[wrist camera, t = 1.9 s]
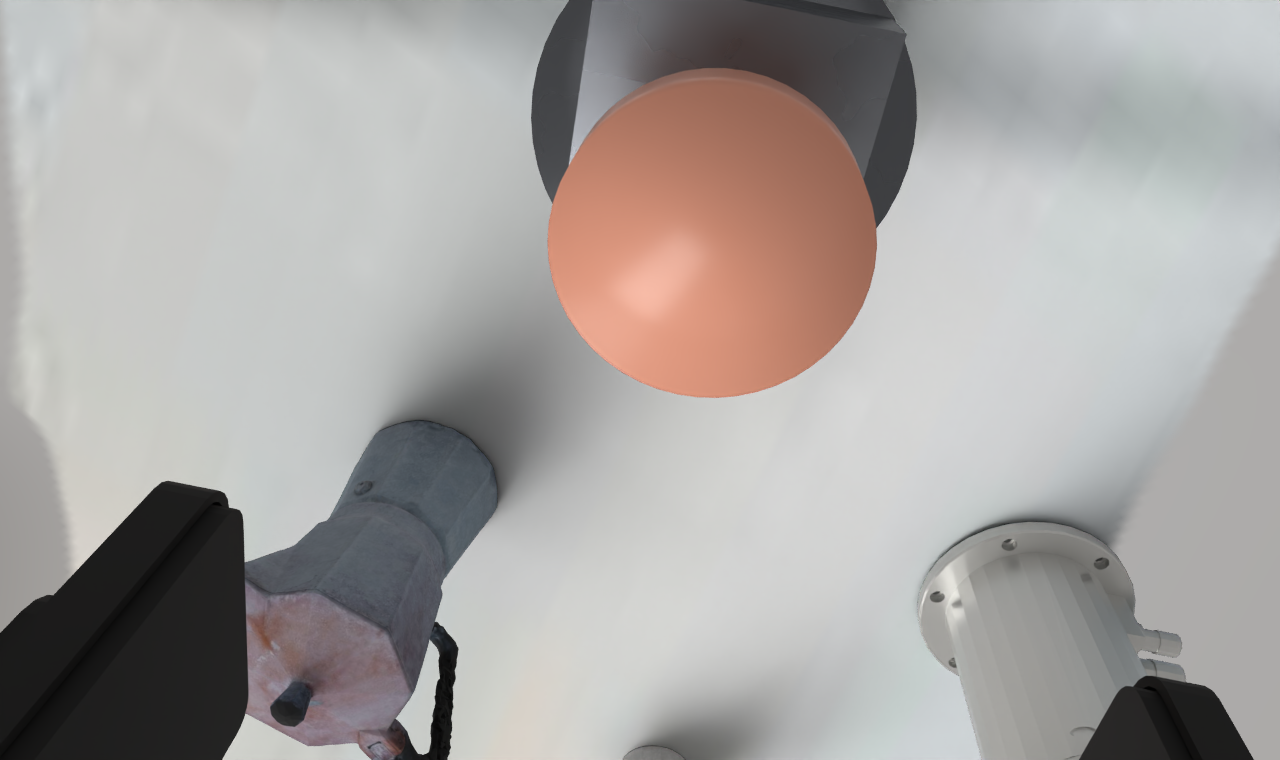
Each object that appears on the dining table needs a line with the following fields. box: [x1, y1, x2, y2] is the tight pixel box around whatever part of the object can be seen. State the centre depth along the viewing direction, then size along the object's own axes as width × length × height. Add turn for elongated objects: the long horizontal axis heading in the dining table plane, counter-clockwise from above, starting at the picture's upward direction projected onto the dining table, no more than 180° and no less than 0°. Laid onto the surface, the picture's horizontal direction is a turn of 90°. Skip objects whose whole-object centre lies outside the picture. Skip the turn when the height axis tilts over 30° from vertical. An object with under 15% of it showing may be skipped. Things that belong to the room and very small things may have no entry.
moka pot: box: [245, 421, 497, 760], centre depth 51 cm, size 10×15×20 cm, turn 39°
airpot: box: [531, 0, 917, 228], centre depth 37 cm, size 13×19×21 cm
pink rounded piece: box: [548, 68, 877, 398], centre depth 23 cm, size 7×7×6 cm
